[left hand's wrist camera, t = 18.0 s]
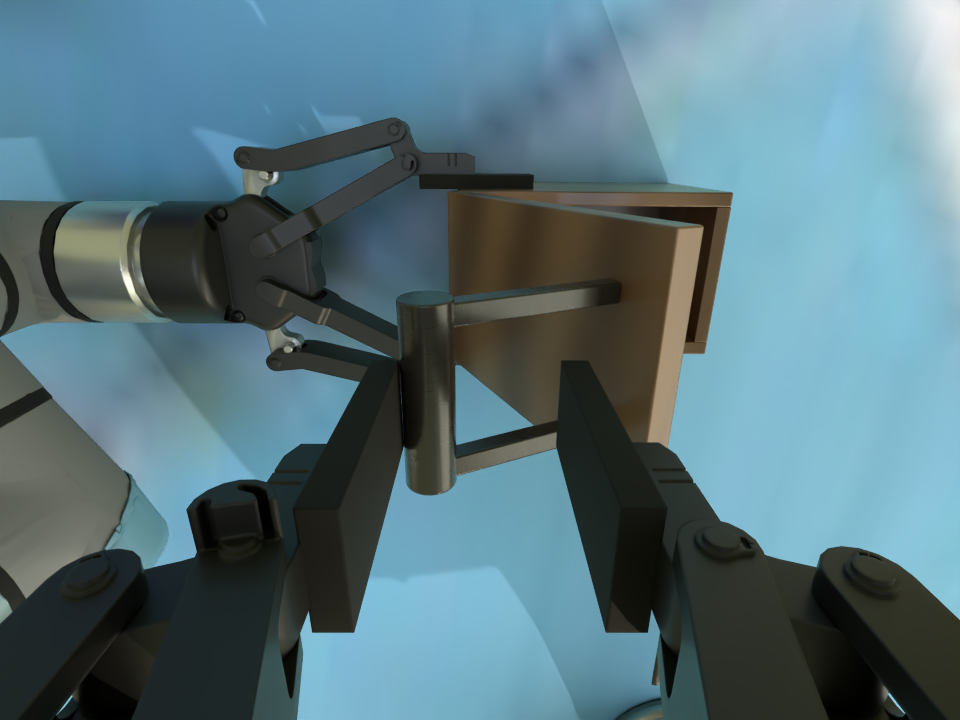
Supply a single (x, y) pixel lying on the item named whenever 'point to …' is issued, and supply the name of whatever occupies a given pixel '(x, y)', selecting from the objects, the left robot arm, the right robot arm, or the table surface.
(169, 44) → the table surface
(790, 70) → the table surface
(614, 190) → the chest
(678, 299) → the lid
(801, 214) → the table surface
